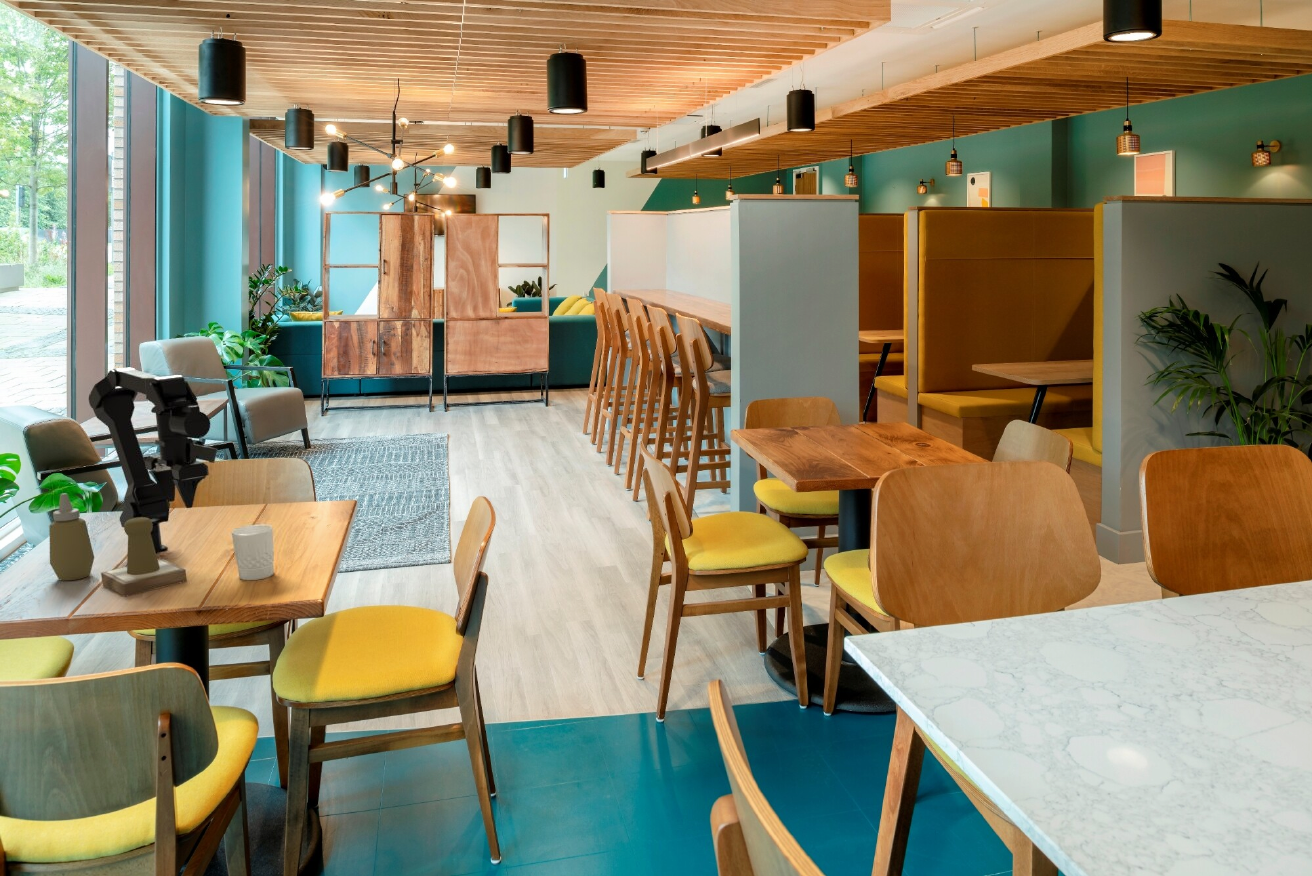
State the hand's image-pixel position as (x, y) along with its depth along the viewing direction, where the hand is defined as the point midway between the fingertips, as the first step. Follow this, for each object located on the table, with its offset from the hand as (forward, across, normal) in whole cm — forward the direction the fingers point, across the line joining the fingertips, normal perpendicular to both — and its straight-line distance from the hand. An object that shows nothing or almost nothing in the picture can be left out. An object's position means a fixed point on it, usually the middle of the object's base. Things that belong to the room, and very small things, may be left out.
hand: (180, 504), depth 212 cm
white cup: (+13, -22, -5) cm, 26 cm away
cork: (+10, -8, +12) cm, 18 cm away
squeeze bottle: (+13, +8, +20) cm, 25 cm away
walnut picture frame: (+13, -8, +12) cm, 19 cm away
